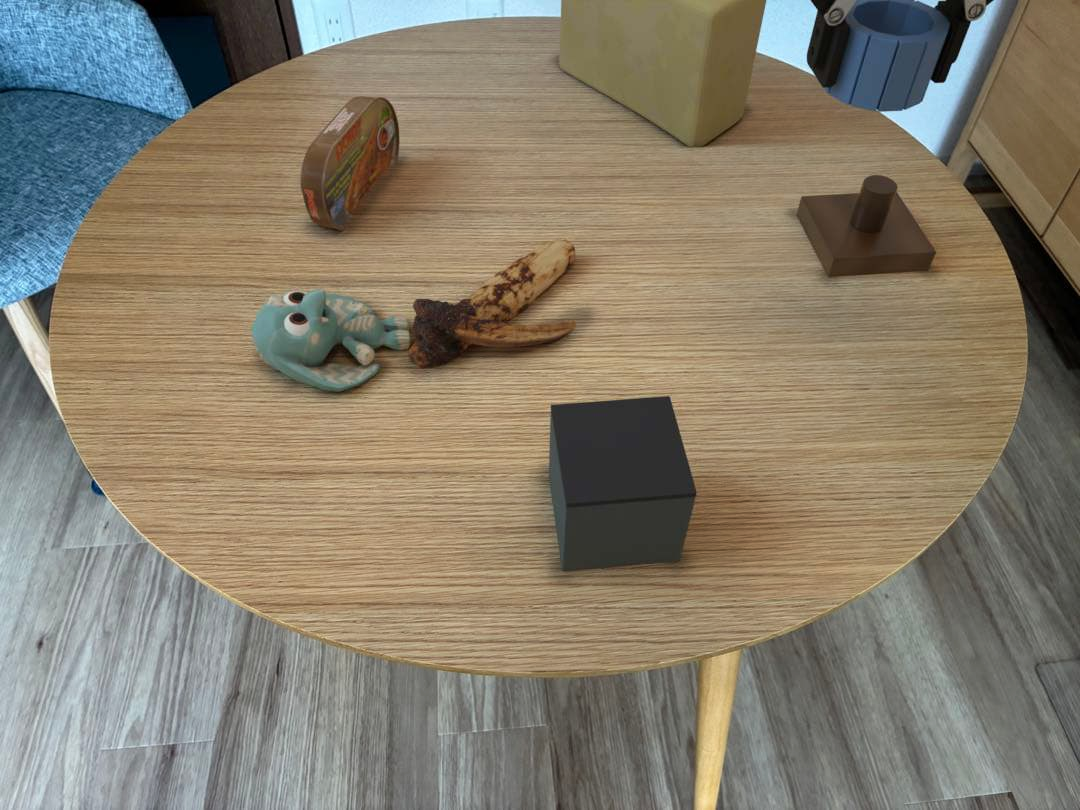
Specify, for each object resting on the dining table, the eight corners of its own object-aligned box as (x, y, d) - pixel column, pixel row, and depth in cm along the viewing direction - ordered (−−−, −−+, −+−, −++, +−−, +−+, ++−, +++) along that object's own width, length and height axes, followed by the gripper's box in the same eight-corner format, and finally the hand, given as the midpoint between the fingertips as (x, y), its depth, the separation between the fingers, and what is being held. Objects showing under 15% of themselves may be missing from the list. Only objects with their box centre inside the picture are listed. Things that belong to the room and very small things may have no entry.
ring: (902, 60, 59) (924, -7, 56) (940, 109, 55) (967, 40, 51) (808, 63, 59) (825, -4, 55) (839, 113, 54) (860, 44, 51)
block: (655, 475, 61) (669, 395, 54) (678, 569, 56) (697, 493, 49) (548, 484, 60) (550, 404, 54) (561, 579, 55) (566, 504, 49)
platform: (886, 217, 81) (910, 152, 76) (924, 279, 75) (954, 212, 70) (793, 223, 80) (812, 157, 75) (825, 285, 75) (847, 219, 69)
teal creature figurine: (424, 340, 62) (248, 341, 58) (415, 408, 67) (252, 412, 63) (407, 248, 69) (249, 244, 65) (400, 316, 74) (253, 315, 70)
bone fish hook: (471, 418, 65) (624, 299, 73) (468, 378, 61) (630, 257, 69) (390, 354, 69) (544, 248, 77) (383, 312, 65) (545, 205, 73)
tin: (338, 249, 77) (321, 168, 71) (306, 242, 78) (286, 161, 71) (406, 160, 87) (396, 82, 80) (377, 155, 87) (365, 76, 81)
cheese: (533, 81, 98) (534, -60, 86) (588, 51, 102) (595, -86, 91) (694, 155, 88) (718, 7, 77) (746, 118, 93) (776, -26, 81)
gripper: (837, -247, 40) (760, 110, 53) (1192, -252, 41) (1029, 99, 54) (791, -282, 45) (731, 53, 58) (1108, -285, 46) (978, 44, 59)
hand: (876, 73), depth 56 cm, fingers closed on ring, 6 cm apart
